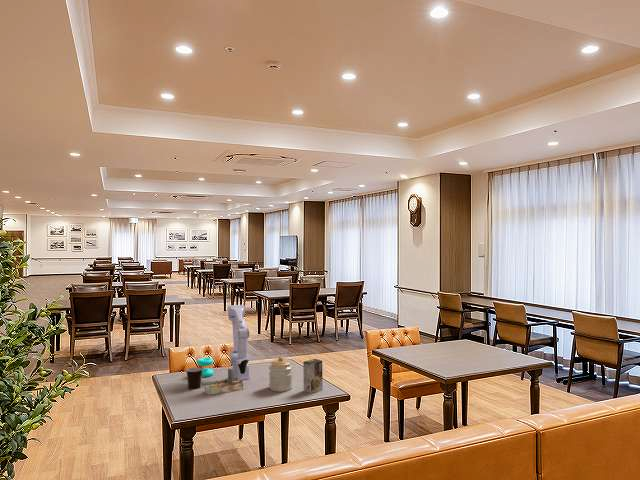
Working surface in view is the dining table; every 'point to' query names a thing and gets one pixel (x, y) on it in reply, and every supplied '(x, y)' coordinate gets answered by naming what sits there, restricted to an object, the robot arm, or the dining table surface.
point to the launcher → (230, 385)
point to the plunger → (230, 376)
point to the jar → (280, 375)
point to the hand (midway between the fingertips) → (242, 373)
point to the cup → (212, 390)
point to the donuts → (205, 362)
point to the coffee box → (312, 375)
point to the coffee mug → (194, 377)
